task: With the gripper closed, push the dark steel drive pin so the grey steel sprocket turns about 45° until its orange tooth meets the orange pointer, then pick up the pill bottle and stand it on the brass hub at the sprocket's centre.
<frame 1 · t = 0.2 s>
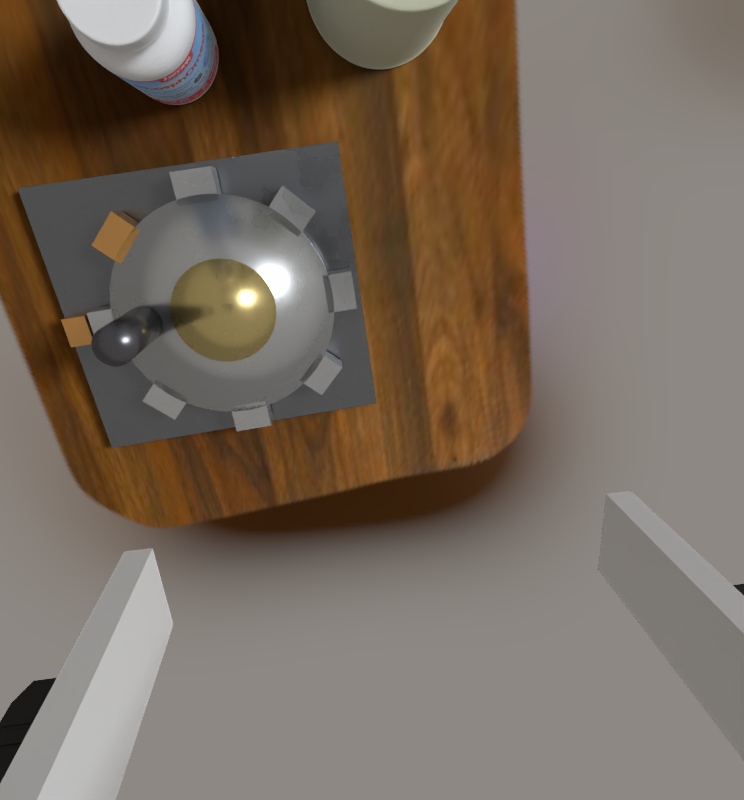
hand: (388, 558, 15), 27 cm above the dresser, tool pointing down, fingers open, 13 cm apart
sprocket: (219, 317, 34), point 5 cm above the dresser, hinge at 0.0°
base plate: (231, 302, 39), on the dresser
pill bottle: (172, 52, 33), on the dresser
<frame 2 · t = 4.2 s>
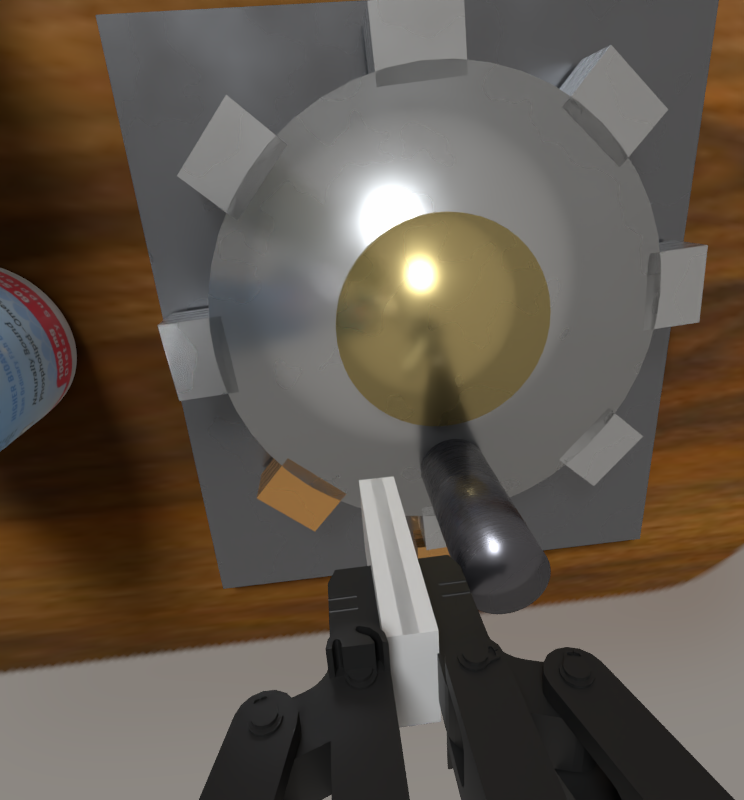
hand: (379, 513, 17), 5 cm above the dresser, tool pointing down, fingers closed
sprocket: (456, 340, 15), point 5 cm above the dresser, hinge at 3.3°, touching gripper
base plate: (424, 305, 20), on the dresser
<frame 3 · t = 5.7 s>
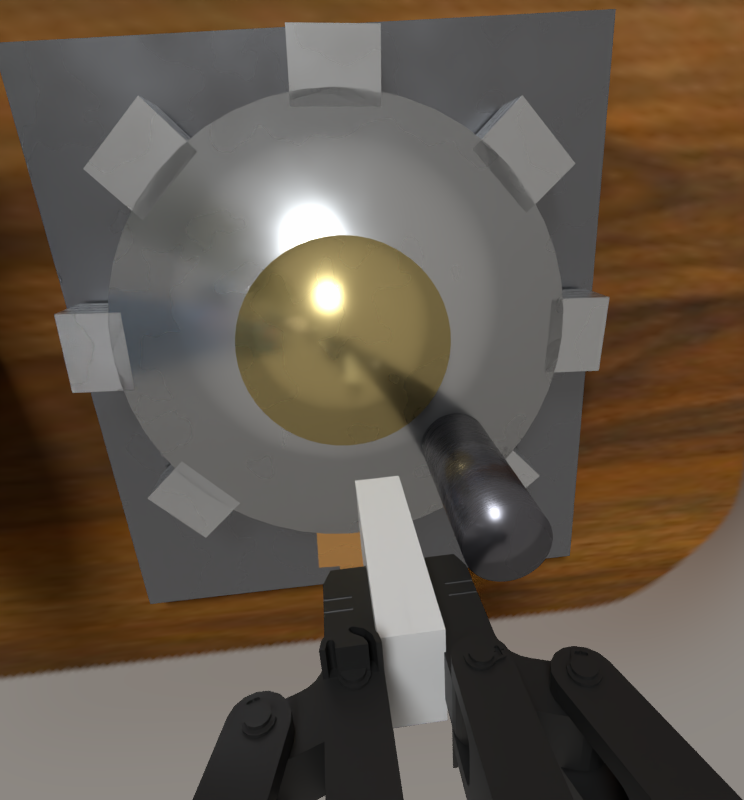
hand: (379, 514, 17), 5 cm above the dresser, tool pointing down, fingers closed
sprocket: (346, 362, 16), point 5 cm above the dresser, hinge at 41.9°
base plate: (341, 323, 20), on the dresser
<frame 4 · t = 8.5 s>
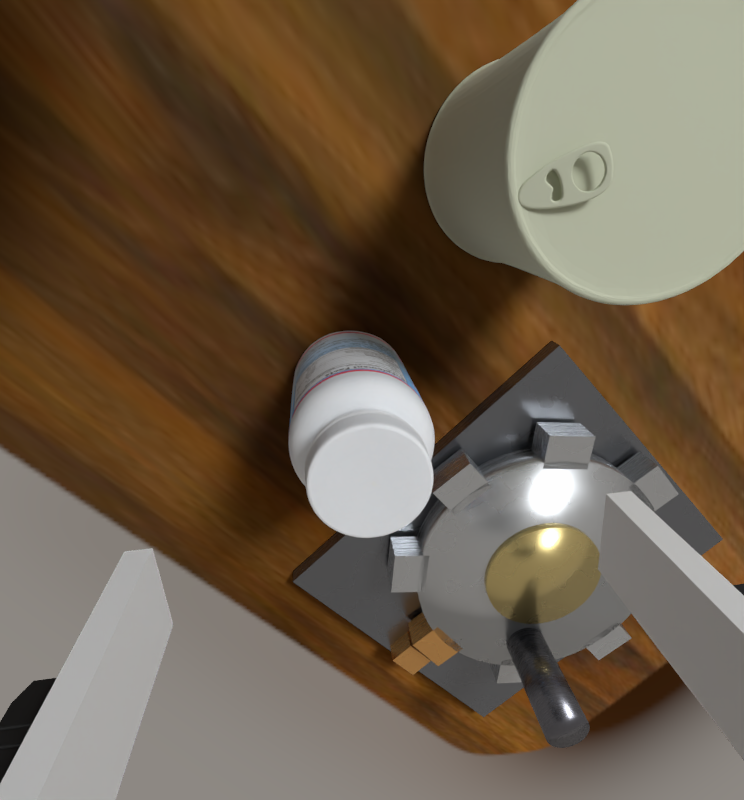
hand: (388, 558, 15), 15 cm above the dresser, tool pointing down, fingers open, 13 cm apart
pale green cylinder: (513, 166, 26), on the dresser
sprocket: (556, 597, 29), point 5 cm above the dresser, hinge at 41.9°
base plate: (522, 540, 34), on the dresser
pill bottle: (349, 378, 29), on the dresser
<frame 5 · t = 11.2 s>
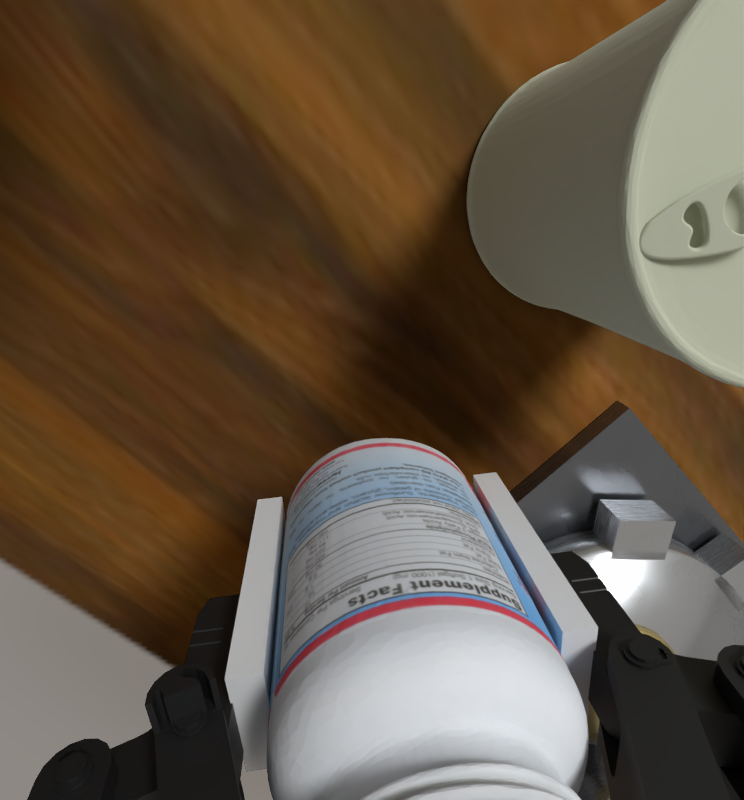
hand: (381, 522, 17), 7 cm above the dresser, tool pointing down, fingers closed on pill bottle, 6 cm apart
pale green cylinder: (576, 193, 21), on the dresser
sprocket: (627, 718, 24), point 5 cm above the dresser, hinge at 41.9°
base plate: (575, 632, 29), on the dresser
pill bottle: (379, 508, 17), point 7 cm above the dresser, touching gripper
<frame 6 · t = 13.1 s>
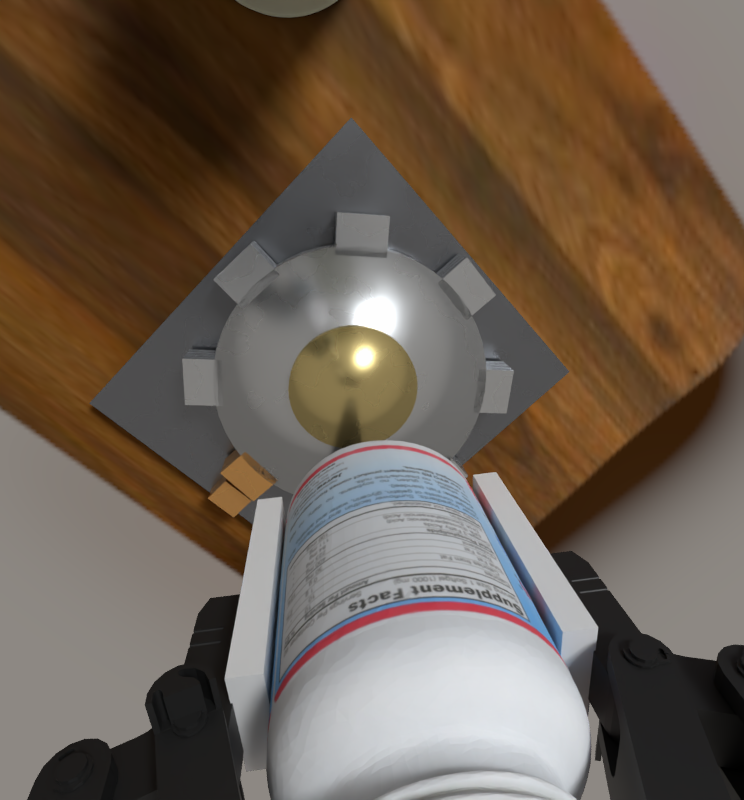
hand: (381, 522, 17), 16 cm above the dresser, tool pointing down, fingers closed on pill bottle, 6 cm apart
sprocket: (356, 401, 27), point 5 cm above the dresser, hinge at 41.9°
base plate: (349, 370, 32), on the dresser
pill bottle: (380, 511, 17), point 15 cm above the dresser, touching gripper
when the fingers open (5 cm above the dresser, at t = 15.3 s): pill bottle stays where it is, resting on sprocket.
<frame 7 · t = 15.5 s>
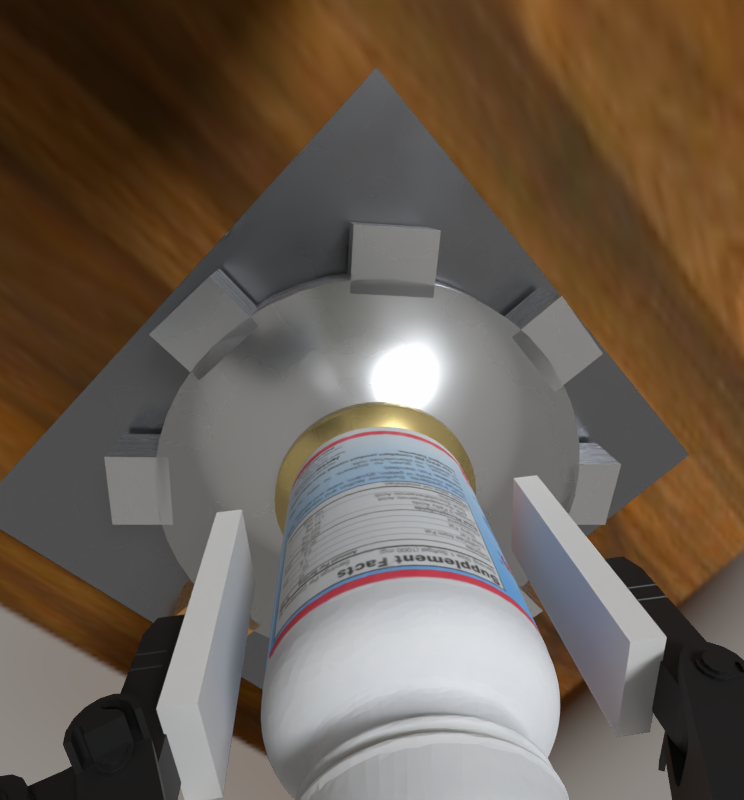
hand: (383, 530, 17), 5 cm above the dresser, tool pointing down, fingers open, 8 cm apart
sprocket: (382, 528, 17), point 5 cm above the dresser, hinge at 41.9°, touching pill bottle
base plate: (367, 453, 21), on the dresser
pill bottle: (378, 494, 18), point 4 cm above the dresser, touching sprocket
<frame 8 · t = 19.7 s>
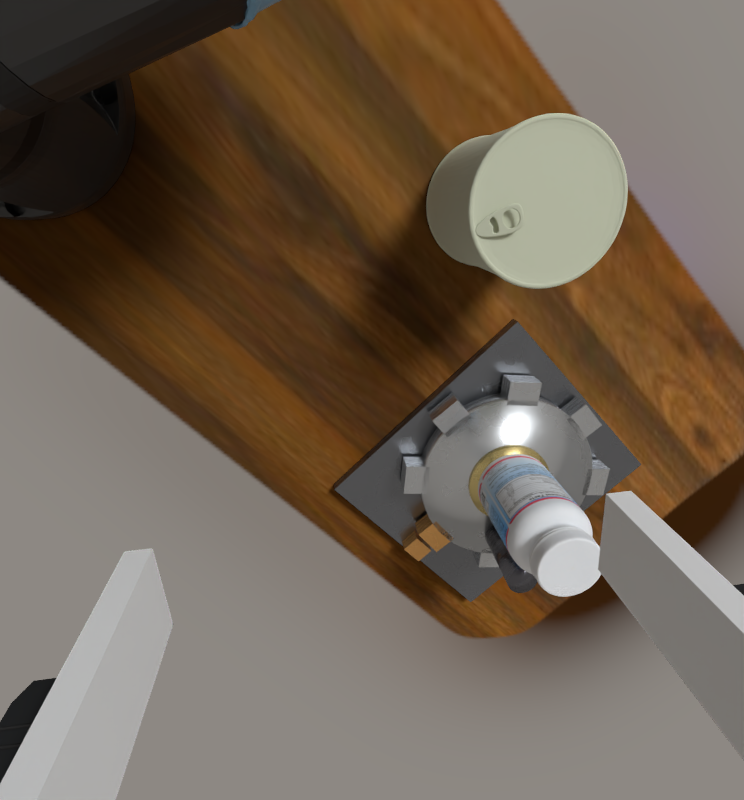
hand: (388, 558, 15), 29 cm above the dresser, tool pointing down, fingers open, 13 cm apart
pale green cylinder: (484, 203, 40), on the dresser
sprocket: (516, 494, 43), point 5 cm above the dresser, hinge at 41.9°, touching pill bottle
base plate: (496, 464, 48), on the dresser
pill bottle: (510, 481, 45), point 3 cm above the dresser, touching sprocket
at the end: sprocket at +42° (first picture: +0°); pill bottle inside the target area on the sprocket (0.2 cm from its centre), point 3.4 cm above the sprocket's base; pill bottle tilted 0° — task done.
